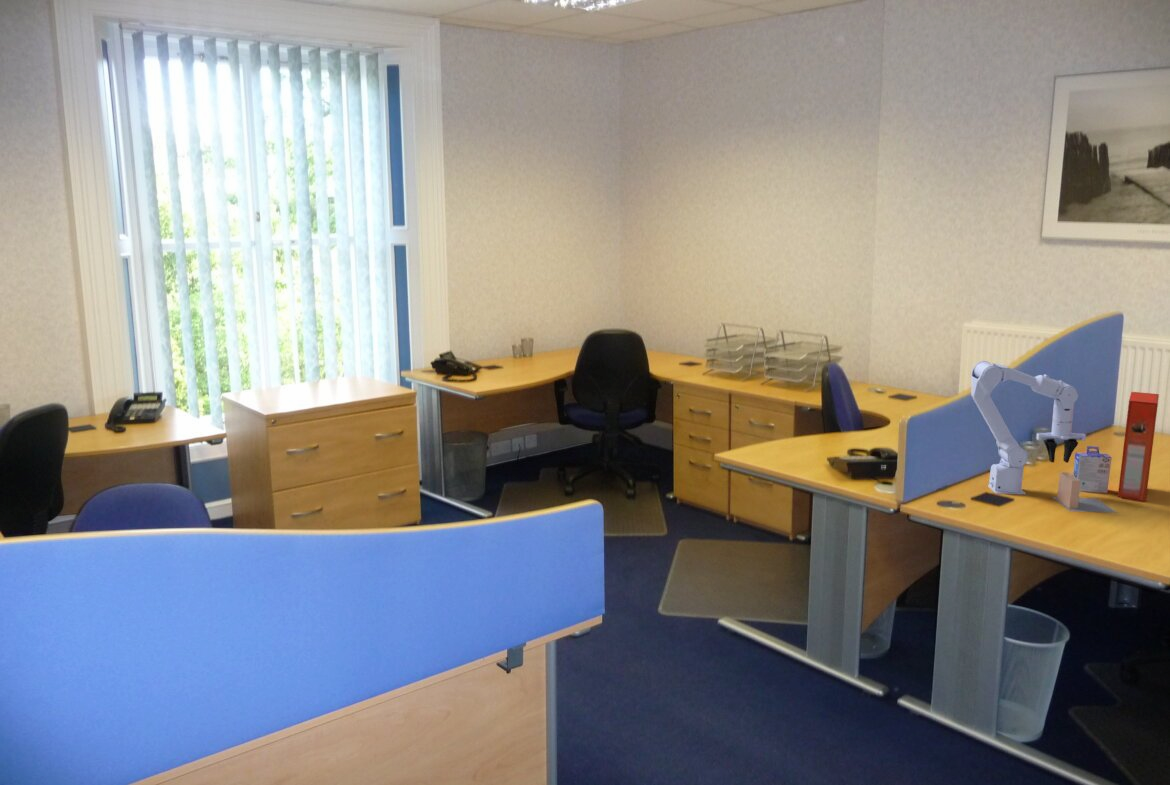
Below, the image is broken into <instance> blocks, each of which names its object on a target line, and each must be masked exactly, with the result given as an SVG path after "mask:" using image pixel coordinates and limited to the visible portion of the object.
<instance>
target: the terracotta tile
mask: <svg viewBox="0 0 1170 785" xmlns="http://www.w3.org/2000/svg"><path fill="white" fill-rule="evenodd" d="M1080 485H1081V480H1079V479H1078V478H1076V477H1075V476H1073V474H1072V473H1070V472H1069V471H1068V472H1067V471H1065V472H1063V471H1060V472H1059V480H1058V488H1057V489H1058V490H1057V496H1056V497H1057V500H1058V501H1060V502H1061V503H1062V504H1064V505H1065V506H1066V507H1068V508H1069V509H1078V501H1079V498H1080V493H1081V491H1080Z"/></svg>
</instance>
